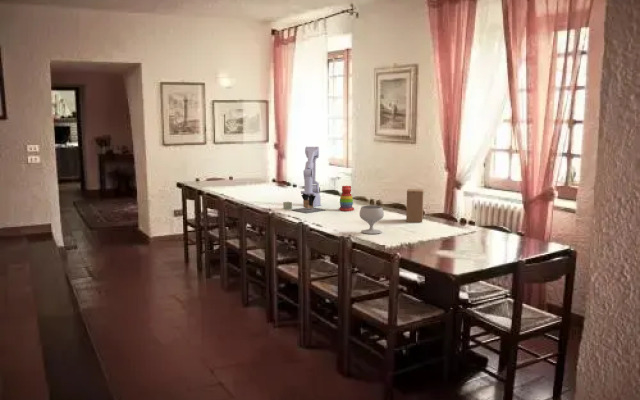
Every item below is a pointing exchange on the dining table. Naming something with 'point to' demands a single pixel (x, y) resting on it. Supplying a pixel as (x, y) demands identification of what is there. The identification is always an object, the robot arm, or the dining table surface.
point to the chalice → (371, 217)
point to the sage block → (287, 205)
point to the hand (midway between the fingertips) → (308, 204)
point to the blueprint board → (308, 210)
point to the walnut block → (306, 204)
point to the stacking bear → (346, 199)
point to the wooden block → (414, 205)
